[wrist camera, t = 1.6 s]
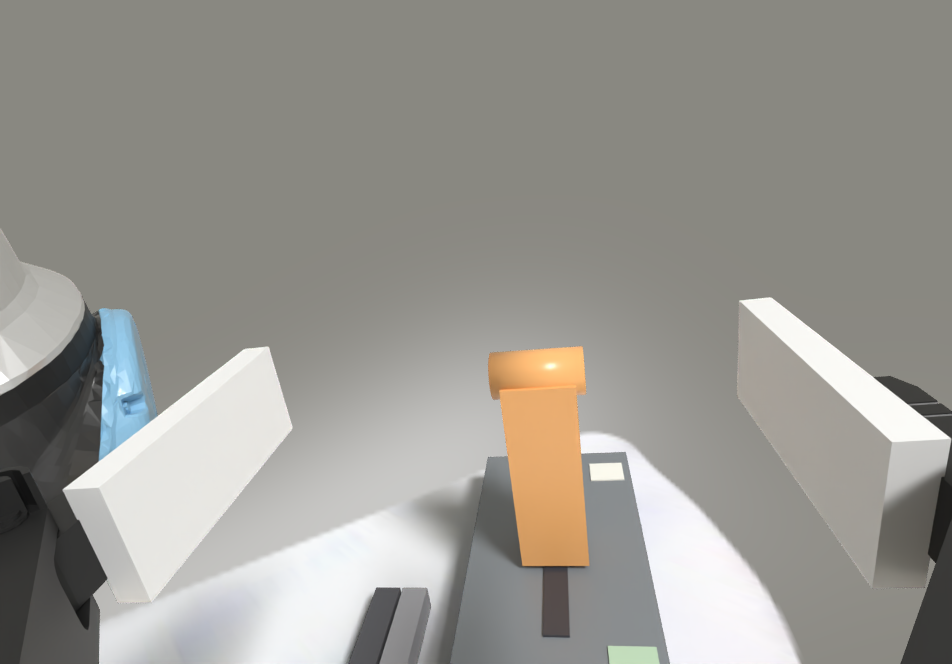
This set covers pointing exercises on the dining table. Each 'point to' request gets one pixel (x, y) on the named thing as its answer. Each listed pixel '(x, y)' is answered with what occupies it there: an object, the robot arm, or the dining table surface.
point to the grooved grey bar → (393, 627)
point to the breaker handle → (544, 450)
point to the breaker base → (561, 582)
